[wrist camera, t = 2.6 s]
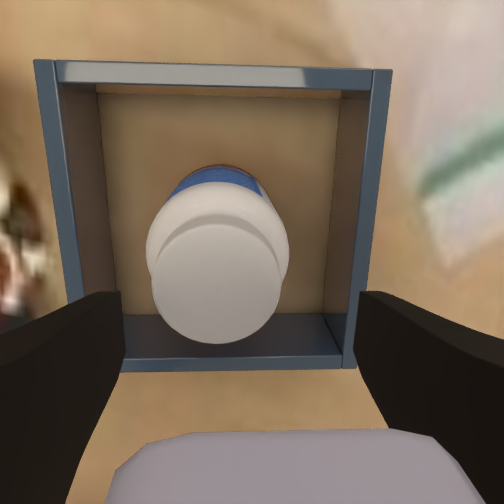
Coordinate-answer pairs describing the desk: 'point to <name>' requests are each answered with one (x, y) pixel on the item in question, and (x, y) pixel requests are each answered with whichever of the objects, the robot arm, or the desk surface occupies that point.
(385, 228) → the desk surface
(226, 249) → the pill bottle
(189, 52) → the desk surface
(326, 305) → the open box
